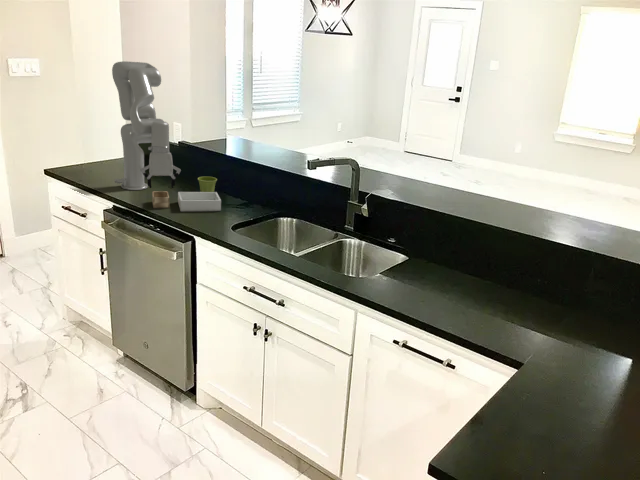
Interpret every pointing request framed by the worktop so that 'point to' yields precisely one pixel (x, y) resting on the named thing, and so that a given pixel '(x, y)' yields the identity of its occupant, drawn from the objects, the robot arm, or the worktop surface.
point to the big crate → (199, 201)
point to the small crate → (160, 199)
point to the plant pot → (207, 184)
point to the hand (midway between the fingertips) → (161, 187)
